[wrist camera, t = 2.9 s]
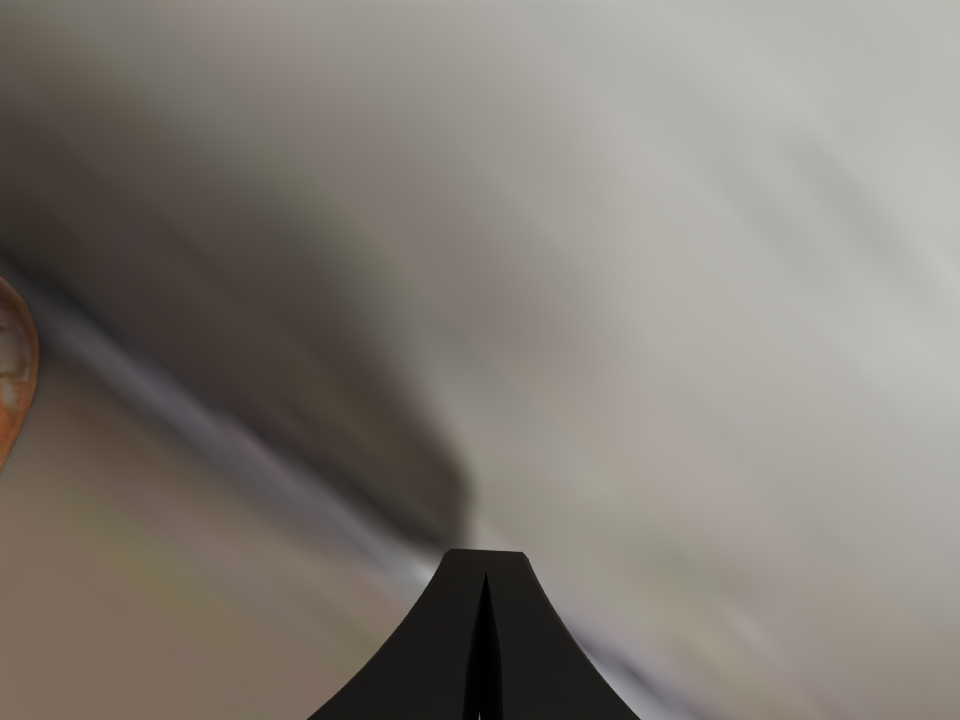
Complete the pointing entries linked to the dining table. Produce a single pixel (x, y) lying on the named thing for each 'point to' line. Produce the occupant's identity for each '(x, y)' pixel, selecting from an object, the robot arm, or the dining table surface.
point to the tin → (15, 365)
